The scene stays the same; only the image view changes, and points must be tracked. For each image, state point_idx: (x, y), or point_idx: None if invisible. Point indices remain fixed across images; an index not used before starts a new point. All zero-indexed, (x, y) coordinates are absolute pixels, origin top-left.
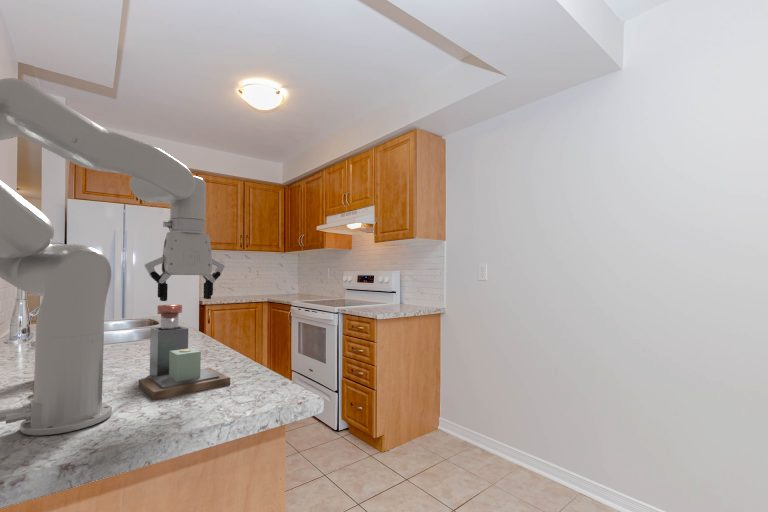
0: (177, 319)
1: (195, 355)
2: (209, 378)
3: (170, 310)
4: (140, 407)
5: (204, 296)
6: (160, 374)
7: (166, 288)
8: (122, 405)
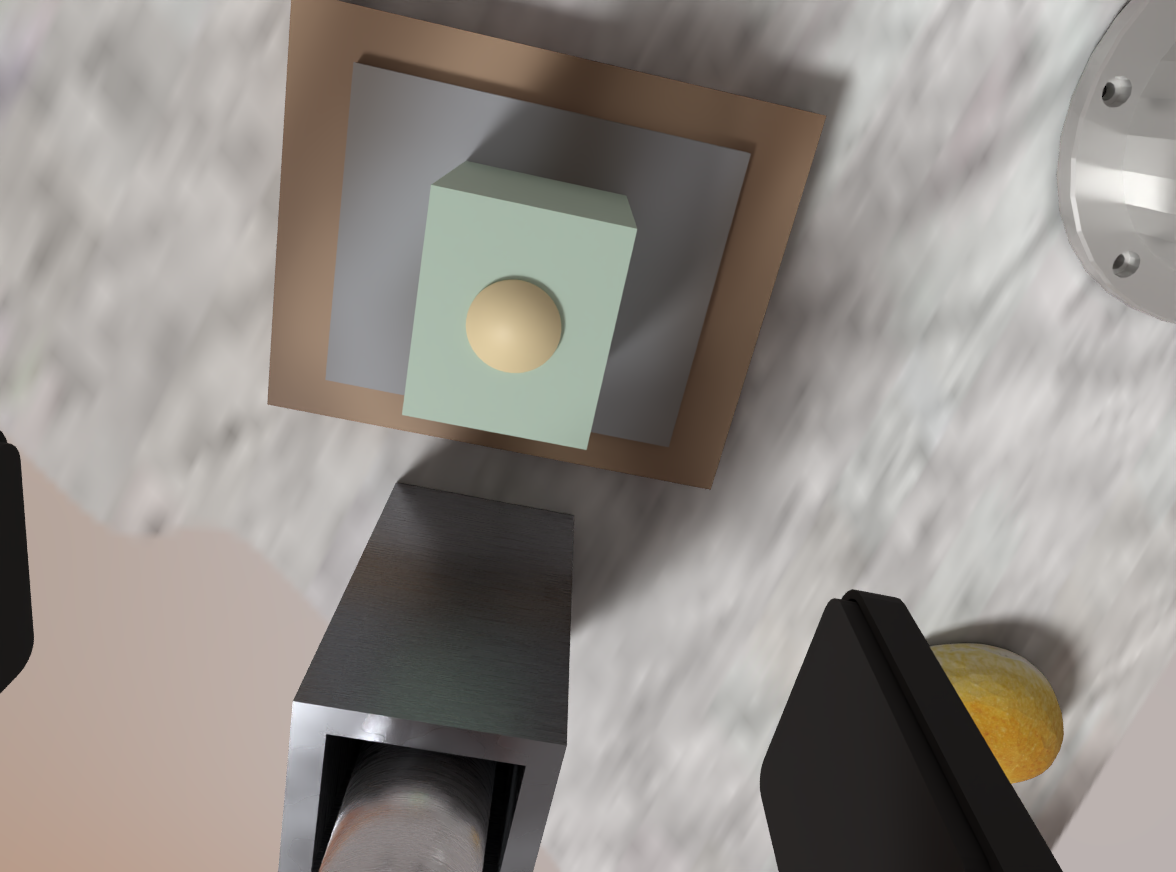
0: (341, 851)
1: (483, 191)
2: (430, 79)
3: None
4: (936, 33)
5: (7, 634)
6: (554, 529)
7: (952, 777)
8: (958, 177)
